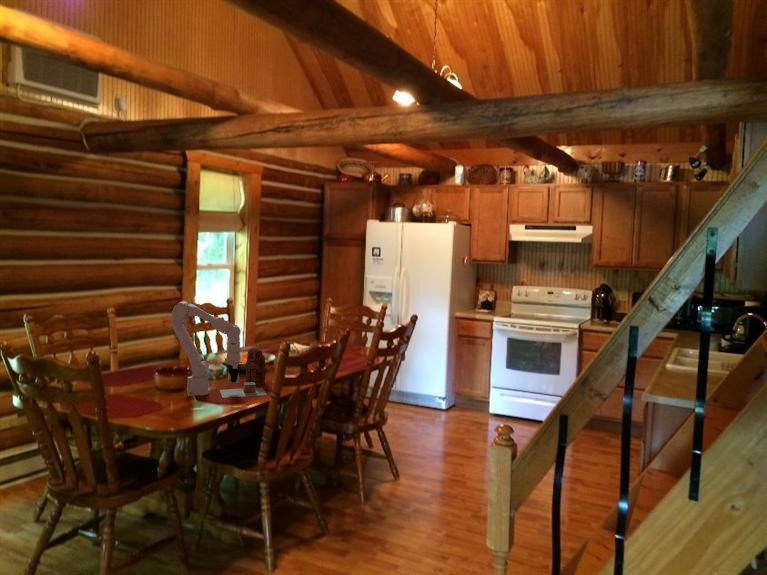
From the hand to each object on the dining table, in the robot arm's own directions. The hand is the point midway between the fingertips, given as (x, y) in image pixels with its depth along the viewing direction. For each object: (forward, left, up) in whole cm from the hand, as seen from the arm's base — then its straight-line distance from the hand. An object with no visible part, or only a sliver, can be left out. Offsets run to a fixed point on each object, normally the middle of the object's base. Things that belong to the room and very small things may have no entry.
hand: (233, 380), depth 288 cm
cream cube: (0, 0, -1) cm, 1 cm away
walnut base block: (+8, 0, -6) cm, 10 cm away
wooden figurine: (+13, +18, -7) cm, 23 cm away
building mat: (+5, 0, -7) cm, 8 cm away
